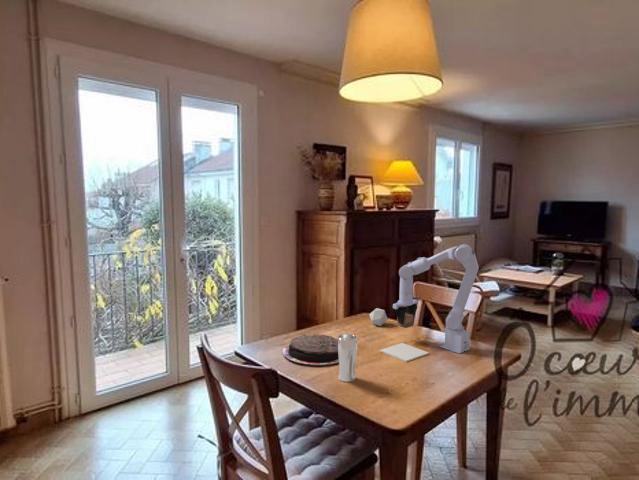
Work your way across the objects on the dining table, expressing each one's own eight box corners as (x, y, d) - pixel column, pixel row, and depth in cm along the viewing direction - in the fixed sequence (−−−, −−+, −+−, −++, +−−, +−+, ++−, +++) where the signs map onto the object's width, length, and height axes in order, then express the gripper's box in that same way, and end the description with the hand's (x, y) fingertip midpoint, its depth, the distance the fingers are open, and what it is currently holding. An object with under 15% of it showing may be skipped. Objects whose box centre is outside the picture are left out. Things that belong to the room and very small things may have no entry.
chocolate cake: (360, 348, 177) (361, 333, 177) (335, 373, 152) (335, 355, 151) (301, 338, 189) (301, 324, 188) (269, 360, 164) (269, 343, 163)
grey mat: (428, 353, 171) (428, 352, 170) (406, 362, 162) (406, 360, 162) (402, 344, 182) (402, 342, 181) (379, 351, 173) (379, 349, 173)
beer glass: (344, 372, 152) (345, 332, 150) (360, 377, 148) (361, 336, 146) (332, 378, 147) (333, 337, 145) (349, 384, 142) (349, 341, 141)
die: (390, 326, 208) (387, 308, 213) (384, 322, 202) (381, 303, 206) (375, 330, 211) (372, 312, 216) (369, 326, 204) (366, 307, 209)
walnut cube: (413, 326, 185) (413, 314, 184) (405, 328, 182) (405, 316, 181) (404, 323, 189) (404, 312, 188) (396, 325, 186) (397, 314, 185)
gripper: (409, 288, 191) (409, 317, 193) (387, 292, 182) (387, 323, 184) (422, 291, 186) (421, 321, 187) (400, 295, 177) (399, 327, 178)
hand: (405, 322), depth 185 cm, fingers closed on walnut cube, 5 cm apart
